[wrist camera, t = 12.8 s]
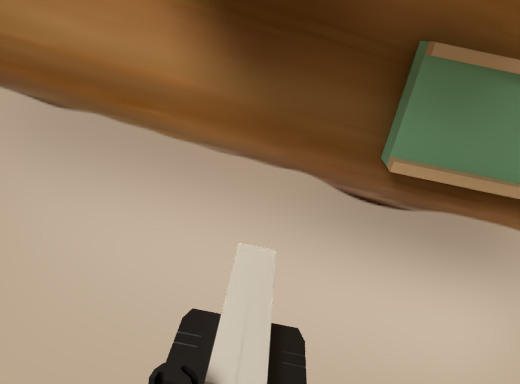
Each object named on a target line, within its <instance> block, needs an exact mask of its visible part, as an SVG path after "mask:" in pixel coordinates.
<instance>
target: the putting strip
mask: <svg viewBox="0 0 520 384" xmlns="http://www.w3.org/2000/svg"><path fill="white" fill-rule="evenodd" d="M381 159H382V161H383V162H384V163H385V165H386V166H387V168H388V169H389V171H390V172H393V173H398V174H402V175H407V176H412V177H417V178H421V179H426V180H431V181H436V182H440V183H445V184H450V185H455V186H460V187H464V188H469V189H474V190H479V191H483V192H488V193H493V194H498V195H502V196H507V197H512V198H517V199H520V60H518V59H513V58H508V57H504V56H499V55H494V54H490V53H485V52H480V51H476V50H471V49H466V48H461V47H457V46H452V45H447V44H443V43H438V42H430V41H420V43H419V46H418V49H417V52H416V55H415V58H414V61H413V64H412V67H411V70H410V73H409V76H408V79H407V82H406V85H405V88H404V91H403V93H402V96H401V99H400V102H399V105H398V108H397V111H396V114H395V117H394V120H393V123H392V126H391V129H390V132H389V135H388V138H387V141H386V144H385V147H384V150H383V153H382V156H381Z"/></svg>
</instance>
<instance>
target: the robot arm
mask: <svg viewBox="0 0 520 384" xmlns="http://www.w3.org/2000/svg"><path fill="white" fill-rule="evenodd" d="M275 260H276V250H274V249H269V248H264V247H259V246H254V245H249V244H244V243H239V244H238V248H237V252H236V256H235V260H234V265H233V269H232V273H231V277H230V281H229V285H228V289H227V293H226V297H225V301H224V305H223V310H222V314H218V313H213V312H208V311H203V310H198V309H192V310H190V311H189V312H188V313H187V314H186V315H185V316H184V317H183V318H182V321H181V324H180V326H179V329H178V332H177V334H176V337H175V339H174V343H173V345H172V348H171V350H170V353H169V355H168V358H167V361H166V363H163V364H161V365H160V366H159V367H157V368H156V369H154V371H153V372H152V374H151V375H150V377H149V384H307V383H306V368H305V367H306V360H305V341H304V339H303V337H302V335H301V333H300V331H299V329H298V328H294V327H289V326H284V325H279V324H273V323H271V317H272V303H273V288H274V274H275Z"/></svg>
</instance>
